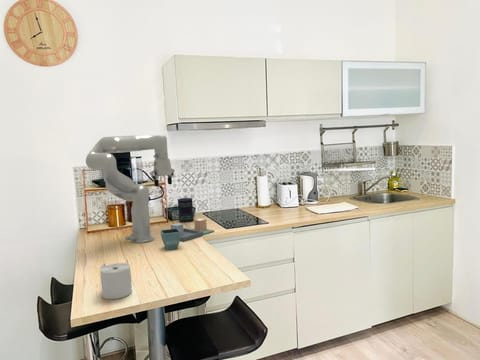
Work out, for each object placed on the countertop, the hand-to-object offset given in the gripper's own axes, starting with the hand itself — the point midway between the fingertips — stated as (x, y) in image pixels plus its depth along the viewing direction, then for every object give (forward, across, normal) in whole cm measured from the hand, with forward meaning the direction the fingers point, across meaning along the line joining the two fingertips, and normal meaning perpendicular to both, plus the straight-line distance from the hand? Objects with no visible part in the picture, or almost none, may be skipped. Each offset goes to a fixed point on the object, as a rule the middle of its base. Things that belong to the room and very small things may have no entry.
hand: (163, 185), depth 231 cm
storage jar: (+28, +25, +11) cm, 39 cm away
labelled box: (+28, +11, -19) cm, 35 cm away
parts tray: (+28, -2, -19) cm, 34 cm away
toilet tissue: (+29, -69, -59) cm, 95 cm away
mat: (+28, +11, -19) cm, 36 cm away
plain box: (+28, -4, -15) cm, 32 cm away
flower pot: (+28, -20, -30) cm, 46 cm away
